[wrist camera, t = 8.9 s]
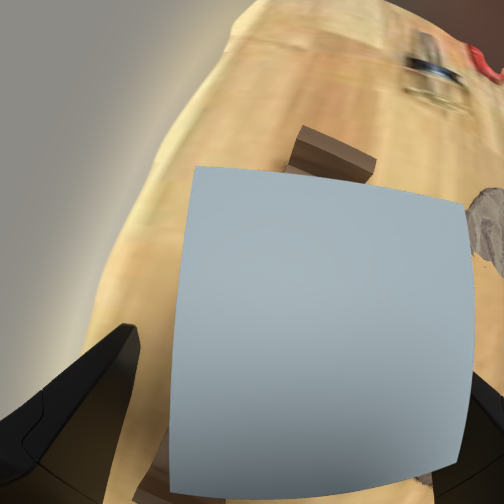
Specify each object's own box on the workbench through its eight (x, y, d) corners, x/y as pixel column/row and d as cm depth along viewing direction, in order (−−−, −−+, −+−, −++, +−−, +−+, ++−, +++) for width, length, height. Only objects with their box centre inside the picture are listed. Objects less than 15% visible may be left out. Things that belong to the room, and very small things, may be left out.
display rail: (219, 497, 15) (216, 533, 10) (150, 469, 15) (131, 500, 10) (351, 190, 21) (376, 159, 16) (290, 162, 21) (302, 125, 17)
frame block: (303, 377, 16) (456, 462, 3) (212, 373, 16) (157, 489, 3) (308, 293, 17) (463, 204, 5) (219, 286, 17) (182, 165, 4)
